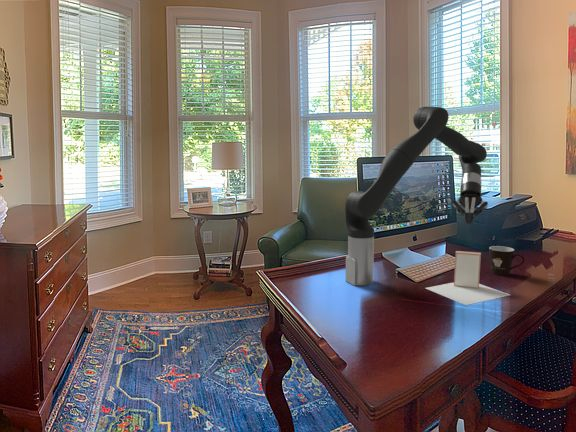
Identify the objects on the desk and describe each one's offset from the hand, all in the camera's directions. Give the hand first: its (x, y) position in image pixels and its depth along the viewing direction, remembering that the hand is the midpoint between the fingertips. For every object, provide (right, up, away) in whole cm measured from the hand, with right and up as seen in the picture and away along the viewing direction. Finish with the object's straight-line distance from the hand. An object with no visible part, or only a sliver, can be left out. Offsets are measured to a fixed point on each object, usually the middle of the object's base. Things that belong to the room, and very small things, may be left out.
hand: (469, 223), depth 161 cm
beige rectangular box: (-5, -22, -11) cm, 25 cm away
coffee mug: (+14, -20, +2) cm, 25 cm away
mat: (-7, -23, -16) cm, 29 cm away
